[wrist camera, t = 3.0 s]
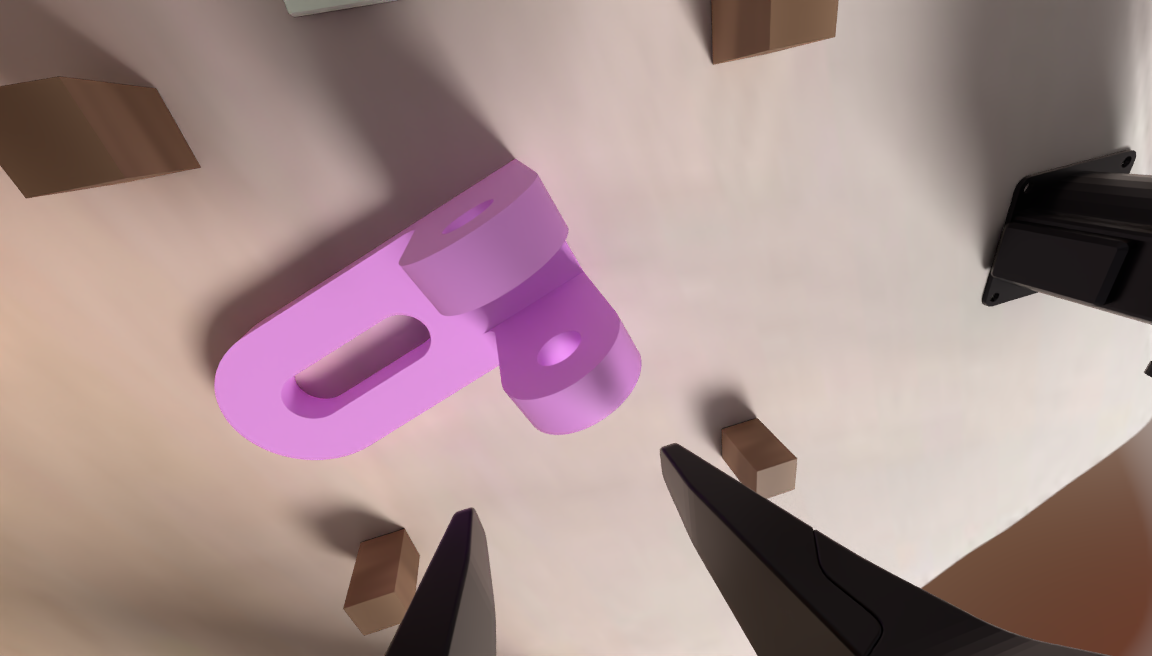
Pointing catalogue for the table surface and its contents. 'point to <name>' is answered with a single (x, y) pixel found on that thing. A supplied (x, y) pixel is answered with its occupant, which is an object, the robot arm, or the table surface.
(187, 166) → the tiny cardboard boxes
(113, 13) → the table surface
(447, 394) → the bracket
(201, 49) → the table surface
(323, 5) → the felt pad
